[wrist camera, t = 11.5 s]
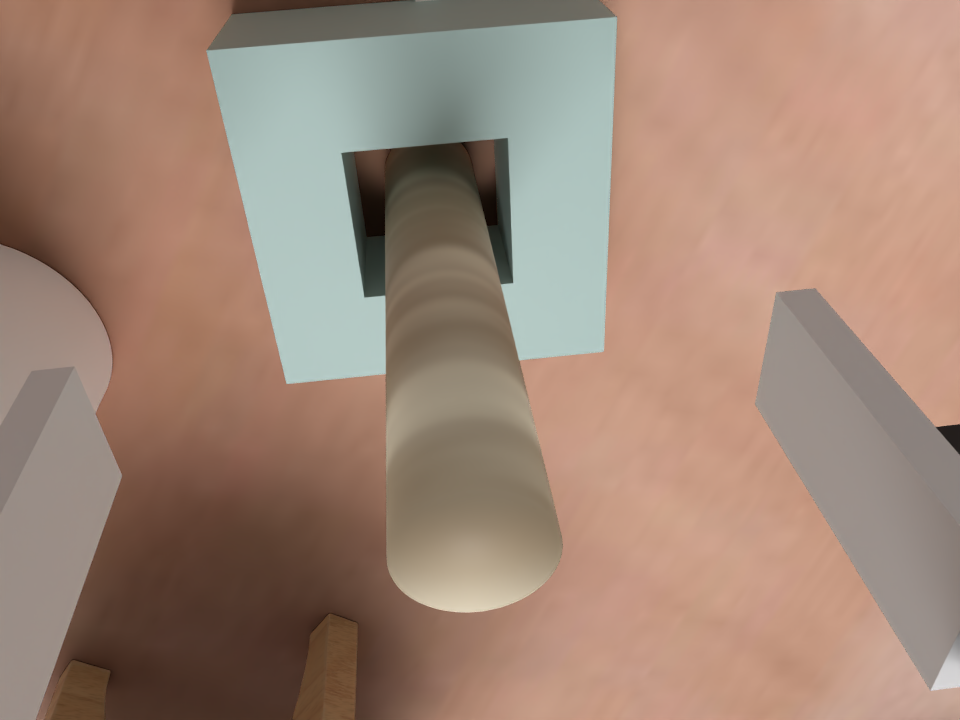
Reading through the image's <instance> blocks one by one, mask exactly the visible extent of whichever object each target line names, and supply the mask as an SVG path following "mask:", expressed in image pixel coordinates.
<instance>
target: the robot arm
mask: <svg viewBox="0 0 960 720" xmlns="http://www.w3.org/2000/svg"><path fill="white" fill-rule="evenodd" d="M755 405H756V407H757V408H758V410H759V411H760V413H761V415H762V416H763V418H764V420H765V421H766V423H767V424H768V426H769V428H770V429H771V431H772V433H773V434H774V436H775V438H776V439H777V441H778V442H779V444H780V446H781V447H782V449H783V451H784V452H785V454H786V456H787V457H788V459H789V460H790V462H791V464H792V465H793V467H794V469H795V470H796V472H797V474H798V475H799V477H800V478H801V480H802V482H803V483H804V485H805V487H806V488H807V490H808V491H809V493H810V495H811V496H812V498H813V500H814V501H815V503H816V505H817V506H818V508H819V509H820V511H821V513H822V514H823V516H824V518H825V519H826V521H827V523H828V524H829V526H830V527H831V529H832V531H833V532H834V534H835V536H836V537H837V539H838V541H839V542H840V544H841V545H842V547H843V549H844V550H845V552H846V554H847V555H848V557H849V559H850V560H851V562H852V563H853V565H854V567H855V568H856V570H857V572H858V573H859V575H860V576H861V578H862V580H863V581H864V583H865V585H866V586H867V588H868V590H869V591H870V593H871V594H872V596H873V598H874V599H875V601H876V603H877V604H878V606H879V608H880V609H881V611H882V612H883V614H884V616H885V617H886V619H887V621H888V622H889V624H890V626H891V627H892V629H893V630H894V632H895V634H896V635H897V637H898V639H899V640H900V642H901V643H902V645H903V647H904V648H905V650H906V652H907V653H908V655H909V657H910V658H911V660H912V661H913V663H914V665H915V666H916V668H917V670H918V671H919V673H920V675H921V676H922V678H923V679H924V681H925V683H926V684H927V686H928V688H929V689H930V691H932V690H940V689H947V688H954V687H960V424H958V425H950V426H941V427H935V426H934V425H933V424H932V422H931V421H930V420H929V419H928V418H927V417H926V416H925V414H924V413H923V412H922V411H921V410H920V409H919V407H918V406H917V405H916V404H915V403H914V402H913V401H912V399H911V398H910V397H909V396H908V395H907V394H906V392H905V391H904V390H903V389H902V388H901V387H900V386H899V384H898V383H897V382H896V381H895V380H894V379H893V377H892V376H891V375H890V374H889V373H888V372H887V371H886V369H885V368H884V367H883V366H882V365H881V364H880V362H879V361H878V360H877V359H876V358H875V357H874V356H873V354H872V353H871V352H870V351H869V350H868V349H867V348H866V346H865V345H864V344H863V343H862V342H861V341H860V339H859V338H858V337H857V336H856V335H855V334H854V333H853V331H852V330H851V329H850V328H849V327H848V326H847V324H846V323H845V322H844V321H843V320H842V319H841V318H840V316H839V315H838V314H837V313H836V312H835V311H834V309H833V308H832V307H831V306H830V305H829V304H828V303H827V301H826V300H825V299H824V298H823V297H822V296H821V294H820V293H819V292H818V291H817V290H816V289H815V288H813V289H804V290H794V291H785V292H776V296H775V302H774V307H773V312H772V317H771V323H770V328H769V333H768V338H767V344H766V349H765V354H764V360H763V365H762V370H761V375H760V381H759V386H758V391H757V396H756V402H755ZM121 478H122V474H121V472H120V469H119V467H118V465H117V462H116V460H115V458H114V456H113V453H112V451H111V449H110V446H109V444H108V442H107V439H106V437H105V435H104V433H103V430H102V428H101V426H100V423H99V421H98V419H97V416H96V414H95V412H94V410H93V407H92V405H91V403H90V400H89V398H88V396H87V394H86V391H85V389H84V387H83V384H82V382H81V380H80V377H79V375H78V373H77V371H76V368H75V366H73V367H64V368H54V369H45V370H35V371H31V373H30V374H29V376H28V378H27V380H26V381H25V383H24V385H23V387H22V388H21V390H20V392H19V394H18V395H17V397H16V399H15V401H14V402H13V404H12V406H11V408H10V410H9V411H8V413H7V415H6V417H5V418H4V420H3V422H2V424H1V425H0V720H36V718H37V715H38V712H39V709H40V706H41V703H42V701H43V698H44V695H45V692H46V689H47V687H48V684H49V681H50V678H51V675H52V672H53V670H54V667H55V664H56V661H57V658H58V656H59V653H60V650H61V647H62V644H63V641H64V639H65V636H66V633H67V630H68V627H69V625H70V622H71V619H72V616H73V613H74V610H75V608H76V605H77V602H78V599H79V596H80V594H81V591H82V588H83V585H84V582H85V579H86V577H87V574H88V571H89V568H90V565H91V563H92V560H93V557H94V554H95V551H96V548H97V546H98V543H99V540H100V537H101V534H102V532H103V529H104V526H105V523H106V520H107V517H108V515H109V512H110V509H111V506H112V503H113V501H114V498H115V495H116V492H117V489H118V486H119V484H120V481H121Z"/></svg>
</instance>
